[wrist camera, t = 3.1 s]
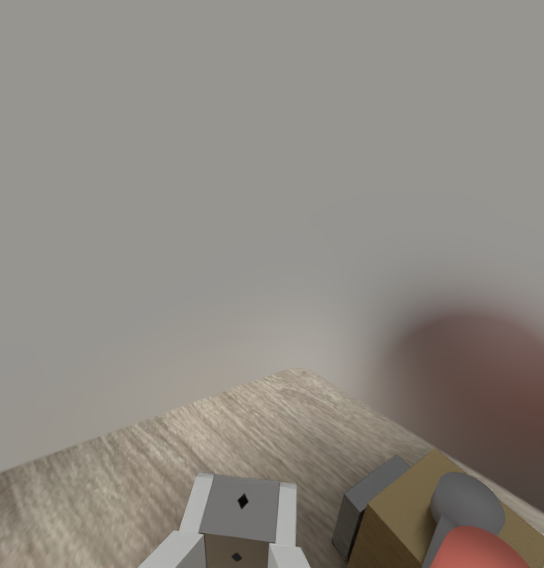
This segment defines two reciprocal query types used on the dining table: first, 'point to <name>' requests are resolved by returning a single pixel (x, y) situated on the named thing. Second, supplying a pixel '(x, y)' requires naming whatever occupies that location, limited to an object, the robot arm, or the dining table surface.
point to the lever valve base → (409, 517)
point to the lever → (468, 527)
